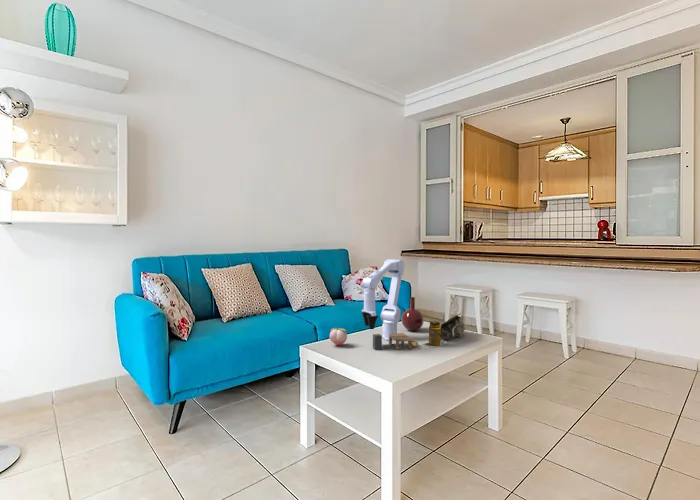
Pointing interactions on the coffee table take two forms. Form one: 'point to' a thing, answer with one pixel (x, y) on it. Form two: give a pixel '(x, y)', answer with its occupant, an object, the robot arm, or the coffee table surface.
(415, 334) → the coffee table surface
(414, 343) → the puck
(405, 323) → the round-bottom flask
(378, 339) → the dark grey mallet
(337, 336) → the decorative fruit
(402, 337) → the stand
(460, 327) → the hollow geode rock
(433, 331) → the condiment
